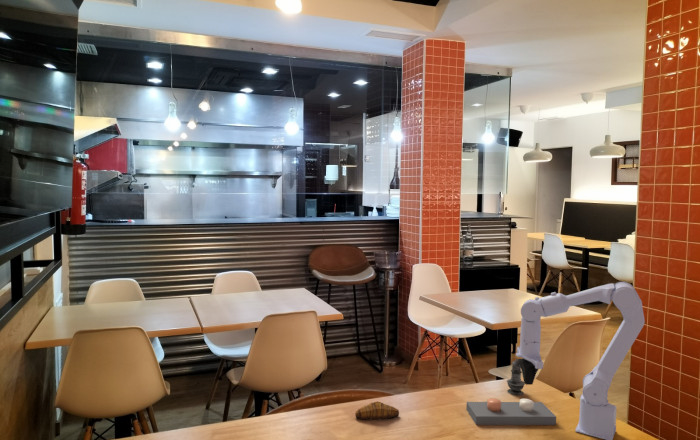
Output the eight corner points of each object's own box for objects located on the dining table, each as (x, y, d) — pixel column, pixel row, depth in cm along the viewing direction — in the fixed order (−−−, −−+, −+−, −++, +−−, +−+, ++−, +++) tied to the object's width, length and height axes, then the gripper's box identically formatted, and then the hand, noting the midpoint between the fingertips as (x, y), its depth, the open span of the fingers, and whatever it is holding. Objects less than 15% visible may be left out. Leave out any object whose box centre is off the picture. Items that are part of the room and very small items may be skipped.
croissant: (357, 424, 142) (357, 407, 142) (353, 413, 149) (353, 397, 148) (402, 421, 144) (402, 405, 144) (396, 411, 151) (396, 395, 151)
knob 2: (529, 413, 151) (530, 398, 151) (535, 419, 147) (535, 404, 147) (516, 413, 151) (517, 398, 150) (522, 419, 147) (522, 404, 146)
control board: (541, 409, 154) (541, 402, 154) (555, 424, 144) (556, 416, 144) (466, 409, 153) (466, 401, 153) (475, 424, 143) (476, 416, 143)
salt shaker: (521, 389, 170) (523, 355, 169) (526, 396, 164) (527, 361, 163) (504, 388, 171) (506, 354, 170) (508, 395, 165) (509, 360, 164)
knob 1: (497, 413, 151) (498, 398, 150) (502, 419, 147) (503, 404, 146) (485, 413, 150) (485, 398, 150) (489, 419, 146) (489, 404, 146)
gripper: (508, 332, 155) (506, 374, 155) (527, 347, 140) (525, 393, 141) (530, 332, 155) (528, 374, 156) (551, 347, 140) (548, 393, 141)
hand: (528, 383), depth 148 cm, fingers closed
